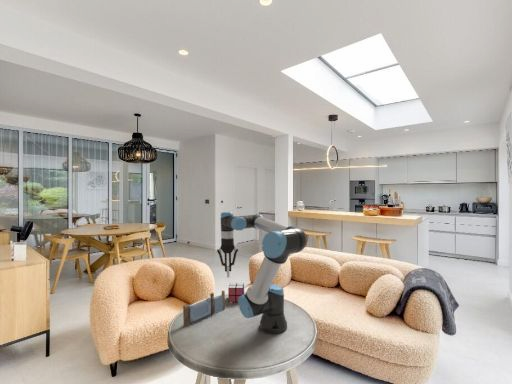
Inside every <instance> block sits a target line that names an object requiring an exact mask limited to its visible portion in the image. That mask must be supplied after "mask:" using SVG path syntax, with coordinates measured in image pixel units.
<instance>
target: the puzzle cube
mask: <svg viewBox="0 0 512 384" xmlns="http://www.w3.org/2000/svg"><path fill="white" fill-rule="evenodd" d="M227 294H228V299H227V300H228V303H230V302H235V303H238V300H239V297H240V296H242V295H245V283H244V282H229V285H228V293H227Z"/></svg>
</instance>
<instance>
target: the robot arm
mask: <svg viewBox="0 0 512 384" xmlns="http://www.w3.org/2000/svg"><path fill="white" fill-rule="evenodd" d="M219 219H220V237H221V239H220V247H219V249H218V248H217V250H216V252H217V254H218V256H219V260H220V264H221V266H223V267H224V271H225V273H226V278H227V279H228V278H231V277H230V272H232V266H234V265H235V262H236V258H237V253H238V252H239V248H237V247H236V246H235V243H234V241H235V238H234V236H235V235H234V234H235V233H234V230H235V231H243V230H245V229H255V230H258V231H260V232H263V233H265V235H264V237H263V239H262V241H261V245H262V246H261V250H262V253H263V256H264V257H263V260H262V261H261V264H260V266H259V269H258V271H257V273H256V276H255V278H254V281H253V282H252V285H250V286H249V287H248V288H247V290H246V292H245V293H244V295H242V296H240V297H239V300H238V302H237V303H238V309H239V311H240V313H241V315H242V316H243V317H244V318H246V319H252V318H255V317H257V316H260V315H261V318H260V322H259V328H260V330H261V331H262V332H264V333H267V334H281V333H283V332H285V331H287V329H288V322H287V319H286V317H285V315H286V314H285V313H284V312H285V294H284V292H285V291H284V287H282V286H281V285H279V284H276V283H273V282H274V280H275V279H276V276H277V274H278V272H279V270H280V267H281V265H283V264H285V263H286V262H287V261H288V258H289V257H290V255H292V254H296V253H299V252H301V251H303V250H304V249H305V248H306V246H307V243H308V237H307V233H305V231H304V230H303V229H301V228H300V227H297V226H294V225H288V226H287V225H285V224H282V223H279V222H277V221H274V220H271V219H267V218H265V217H264V216H263V215H262V214H257V213H256V214H250V215H249V214H248V215H239V216H238V215H237V216H236V215H234V213H233V212H232V211H223V212H220V218H219ZM232 252H234V253H233V257H232ZM222 253H224V259H223V256H222ZM227 254H228V256H227Z"/></svg>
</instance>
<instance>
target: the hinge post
mask: <svg viewBox="0 0 512 384" xmlns="http://www.w3.org/2000/svg"><path fill="white" fill-rule="evenodd" d="M209 295H210V296H209V297H210V298H211V315H212V316H213V315H214V314H215V313H214V298H215V297H214V296H215V294H214V292H211V293H210V294H209Z"/></svg>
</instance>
